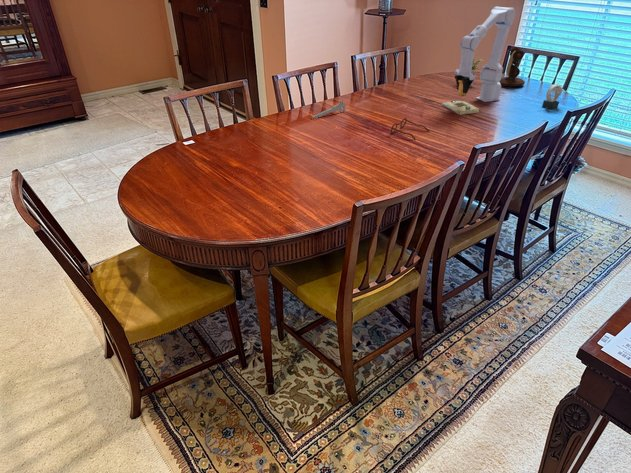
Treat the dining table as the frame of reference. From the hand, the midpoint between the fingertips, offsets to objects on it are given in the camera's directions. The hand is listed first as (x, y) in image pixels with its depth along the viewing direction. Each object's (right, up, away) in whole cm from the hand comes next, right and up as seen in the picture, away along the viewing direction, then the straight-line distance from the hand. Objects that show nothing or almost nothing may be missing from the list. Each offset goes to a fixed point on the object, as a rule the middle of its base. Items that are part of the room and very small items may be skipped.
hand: (462, 91), depth 217 cm
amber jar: (0, -1, +1) cm, 2 cm away
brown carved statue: (+41, +16, +37) cm, 57 cm away
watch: (+45, -8, +1) cm, 45 cm away
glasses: (-31, -26, -20) cm, 45 cm away
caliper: (-67, -11, +4) cm, 68 cm away
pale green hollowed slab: (0, -7, +5) cm, 9 cm away
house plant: (+17, +16, +39) cm, 45 cm away
